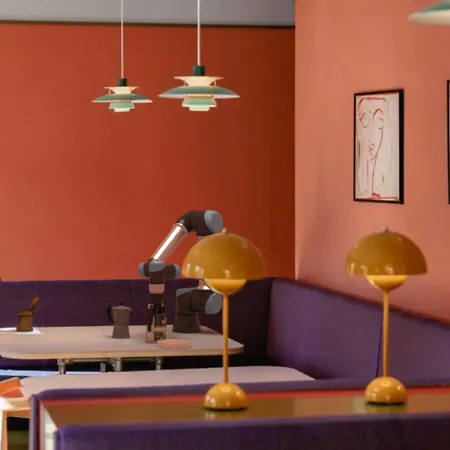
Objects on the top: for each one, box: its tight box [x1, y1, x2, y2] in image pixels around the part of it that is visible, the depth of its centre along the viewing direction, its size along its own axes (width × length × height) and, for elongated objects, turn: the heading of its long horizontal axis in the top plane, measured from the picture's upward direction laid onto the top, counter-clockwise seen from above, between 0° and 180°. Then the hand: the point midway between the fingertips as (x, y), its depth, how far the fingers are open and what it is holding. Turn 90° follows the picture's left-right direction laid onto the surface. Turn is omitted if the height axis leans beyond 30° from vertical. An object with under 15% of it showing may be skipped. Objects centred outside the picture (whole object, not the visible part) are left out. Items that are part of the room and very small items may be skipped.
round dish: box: [156, 338, 192, 350], centre depth 581 cm, size 16×16×2 cm
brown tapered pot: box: [15, 295, 40, 333], centre depth 634 cm, size 9×14×18 cm, turn 134°
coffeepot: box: [106, 301, 133, 340], centre depth 611 cm, size 15×9×18 cm, turn 61°
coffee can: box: [145, 312, 168, 344], centre depth 597 cm, size 10×10×14 cm
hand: (156, 337), depth 597 cm, fingers closed on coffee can, 10 cm apart
